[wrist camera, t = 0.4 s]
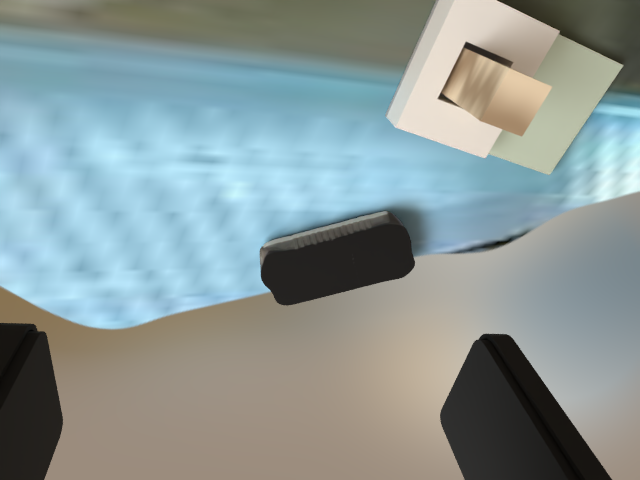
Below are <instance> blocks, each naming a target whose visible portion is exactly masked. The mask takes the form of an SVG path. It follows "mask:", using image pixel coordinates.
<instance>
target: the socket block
mask: <svg viewBox="0 0 640 480" xmlns="http://www.w3.org/2000/svg"><path fill="white" fill-rule="evenodd" d="M559 32H560V31H559V30H557V29H555V28H553V27H550V26H548V25H546V24H544V23H542V22H540V21H538V20H536V19H534V18H532V17H530V16H528V15H526V14H524V13H522V12H520V11H518V10H515V9H513V8H511V7H509V6H507V5H505V4H503V3H501V2H499V1H497V0H436V2H435V5H434V7H433V9H432V11H431V14H430V16H429V18H428V20H427V23H426V25H425V27H424V29H423V32H422V34H421V36H420V38H419V40H418V43H417V45H416V47H415V49H414V52H413V54H412V56H411V58H410V61H409V63H408V65H407V67H406V70H405V72H404V74H403V76H402V79H401V81H400V83H399V85H398V87H397V90H396V92H395V94H394V96H393V99H392V101H391V103H390V105H389V108H388V110H387V112H386V114H385V116H386V117H387V118H388V119H389V120H390V122H391V123H392V124H393V125H394V126H395V127H396V128H399V129H402V130H404V131H407V132H410V133H413V134H416V135H419V136H422V137H425V138H428V139H431V140H433V141H436V142H439V143H442V144H445V145H448V146H451V147H454V148H457V149H459V150H462V151H465V152H468V153H471V154H474V155H477V156H480V157H483V158H486V156H487V155H488V153H489V151H490V150H491V148H492V146H493V145H494V143H495V141H496V139H497V138H498V136H499V134H500V133H501V131H502V129H500V128H497V127H495V126H492V125H489V124H487V123H484V122H481V121H479V120H478V119H477V118H475V117H474V116H473V115H471V114H470V113H468V112H467V111H466V110H464V109H463V108H462V107H460V106H459V105H457V104H456V103H455V102H453V101H452V100H450V99H449V98H448V97H446V96H445V95H444V94H442V93H441V91H442V89H443V87H444V85H445V83H446V81H447V79H448V77H449V75H450V73H451V71H452V69H453V67H454V65H455V63H456V61H457V58H458V56H459V54H460V52H461V50H462V48H463V47H464V48H466V49H468V50H471V51H473V52H475V53H478V54H480V55H482V56H485V57H487V58H489V59H491V60H494V61H496V62H498V63H500V64H503V65H505V66H507V67H509V68H512V69H514V70H516V71H518V72H521V73H523V74H525V75H527V76H529V77H532V78H533V76H534V75H535V73H536V71H537V70H538V68H539V66H540V64H541V63H542V61H543V59H544V58H545V56H546V54H547V52H548V51H549V49H550V47H551V46H552V44H553V42H554V41H555V39H556V37H557V35H558V34H559Z"/></svg>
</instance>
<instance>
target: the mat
mask: <svg viewBox="0 0 640 480" xmlns="http://www.w3.org/2000/svg"><path fill="white" fill-rule="evenodd" d="M622 67H623V65H622V64H620V63H617V62H615V61H613V60H611V59H609V58H607V57H605V56H603V55H601V54H599V53H597V52H595V51H593V50H591V49H588V48H586V47H584V46H582V45H580V44H578V43H576V42H574V41H572V40H570V39H568V38H566V37H564V36H561V35H559V34H558V35H557V37H556V39H555V41H554V42H553V44H552V46H551V47H550V49H549V51H548V52H547V54H546V56H545V58H544V59H543V61H542V63H541V64H540V66H539V68H538V70H537V71H536V73H535V75H534V76H533V78H534V79H536V80H538V81H541V82H543V83H545V84H547V85H550V86H552V89H551V90H550V92H549V94H548V95H547V97H546V99H545V100H544V102H543V103H542V105H541V107H540V108H539V110H538V112H537V113H536V115H535V116H534V118H533V120H532V121H531V123H530V125H529V126H528V128H527V129H526V131H525V133H524V134H523V136H522V137H521V136H519V135H516V134H513V133H511V132H508V131H505V130H503V129H502V131H501V133H500V134H499V136H498V138H497V139H496V141H495V143H494V145H493V146H492V148H491V150H490V151H489V153H488V154H490V155H493V156H496V157H499V158H502V159H505V160H508V161H510V162H513V163H516V164H519V165H522V166H525V167H528V168H530V169H533V170H536V171H539V172H542V173H545V174H548V175H550V174H551V172H552V171H553V169H554V168H555V166H556V165H557V163H558V162H559V160H560V159H561V157H562V156H563V154H564V153H565V151H566V150H567V148H568V147H569V145H570V144H571V142H572V141H573V139H574V138H575V136H576V135H577V134H578V132H579V131H580V129H581V128H582V126H583V125H584V123H585V122H586V120H587V119H588V117H589V116H590V114H591V113H592V111H593V110H594V108H595V107H596V105H597V104H598V102H599V101H600V99H601V98H602V96H603V95H604V93H605V92H606V90H607V89H608V88H609V86H610V85H611V83H612V82H613V80H614V79H615V77H616V76H617V74H618V73H619V71H620V70H621V68H622Z"/></svg>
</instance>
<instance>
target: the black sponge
mask: <svg viewBox="0 0 640 480" xmlns="http://www.w3.org/2000/svg"><path fill="white" fill-rule="evenodd" d="M260 265H261V279H262V281H263V283H264V285H265V286H266V287H267V288H269V289H270V290H271V292H272V293H273V295H274V298H275V300H276V301H277V303H279V304H281V305H293V304H297V303H301V302H305V301H309V300H313V299H317V298H321V297H325V296H329V295H333V294H336V293H341V292H345V291H349V290H353V289H356V288H360V287H364V286H368V285H372V284H376V283H380V282H384V281H389V280H394V279H399V278H402V277H404V276H406V275H407V274H408V273H409V272H410V271H411V270H412V269H413V268H414V266H415V261H414V258H413V254H412V248H411V241H410V237H409V234H408V232H407V230H406V228H405V227H404V226H403V224H402V222H401V221H400V220H399V219H398V218H397V217H396V216H395V215H394V214H393V213H391V212H389V211H383V212H377V213H374V214H371V215H366V216H360V217H358V218H354V219H350V220H348V221H343V222H341V223H336V224H331V225H329V226H324V227H321V228H316V229H312V230H310V231H306V232H301V233H298V234H294V235H292V236H287V237H282V238H278V239H275V240H272V241H269V242H267V243H265V244H264V246H262V248H261V249H260Z"/></svg>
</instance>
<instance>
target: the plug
mask: <svg viewBox="0 0 640 480" xmlns="http://www.w3.org/2000/svg"><path fill="white" fill-rule="evenodd" d="M551 89H552V86H550V85H547V84H545V83H543V82H541V81H538V80H536V79H534V78H532V77H529V76H527V75H525V74H523V73H521V72H518V71H516V70H514V69H512V68H509V67H507V66H505V65H503V64H500V63H498V62H496V61H494V60H491V59H489V58H487V57H485V56H482V55H480V54H478V53H475V52H473V51H471V50H468V49H466V48H464V47H463V48H462V50H461V52H460V54H459V56H458V58H457V61H456V63H455V65H454V67H453V69H452V71H451V73H450V75H449V77H448V79H447V81H446V83H445V85H444V87H443V89H442V91H441V93H442V94H444V95H445V96H446V97H448V98H449V99H450V100H452V101H453V102H455V103H456V104H457V105H459V106H460V107H462V108H463V109H464V110H466V111H467V112H468V113H470V114H471V115H473V116H474V117H475V118H477V119H478V120H479V121H481V122H484V123H487V124H489V125H492V126H495V127H497V128H500V129H503V130H505V131H508V132H511V133H513V134H516V135H519V136H521V137H522V136H523V134H524V133H525V131H526V129H527V128H528V126H529V125H530V123H531V121H532V120H533V118H534V116H535V115H536V113H537V112H538V110H539V108H540V107H541V105H542V103H543V102H544V100H545V99H546V97H547V95H548V94H549V92H550V90H551Z"/></svg>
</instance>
